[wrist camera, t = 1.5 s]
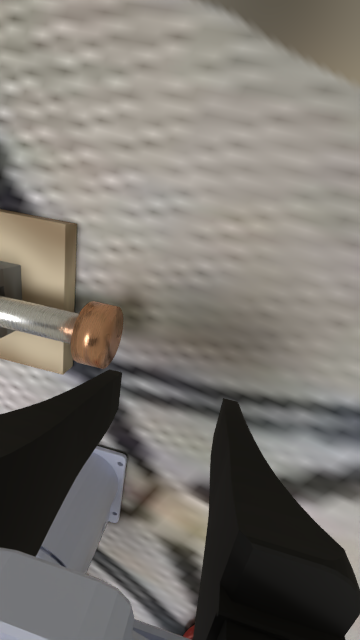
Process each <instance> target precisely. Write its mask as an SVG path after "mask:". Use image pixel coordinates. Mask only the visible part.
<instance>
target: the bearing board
mask: <svg viewBox="0 0 360 640" xmlns="http://www.w3.org/2000/svg"><path fill="white" fill-rule="evenodd" d="M76 240H77V224H75V223H70V222H64V221H59V220H54V219H49V218H43V217H38V216H33V215H28V214H23V213H17V212H12V211H7V210H2V209H0V296H4V297H9V298H13V299H17V300H21V301H26V302H30V303H34V304H39V305H43V306H47V307H52V308H56V309H60V310H65V311H69V312H73V313H74V306H75V273H76ZM0 358H1V359H5V360H9V361H13V362H17V363H20V364H24V365H28V366H32V367H36V368H40V369H43V370H47V371H51V372H55V373H59V374H64V373H65V372H66V371H68V370H69V369H70V368H71V367H72V366H73V357H72V354H71V344H69V343H65V342H61V341H56V340H52V339H48V338H44V337H40V336H36V335H32V334H28V333H24V332H20V331H16V330H12V329H8V328H4V327H0Z"/></svg>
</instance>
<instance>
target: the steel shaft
mask: <svg viewBox="0 0 360 640" xmlns="http://www.w3.org/2000/svg"><path fill="white" fill-rule="evenodd" d="M0 327H4V328H8V329H12V330H16V331H20V332H24V333H28V334H32V335H36V336H40V337H44V338H48V339H52V340H56V341H61V342H65V343H69V344H71V354H72V357H73V359H74V360H75V361H76V362H78V363H82V364H86V365H90V366H94V367H98V368H102V369H103V368H106V367H107V366H108V365H109V364H110V363H111V361H112V360H113V358H114V356H115V354H116V352H117V349H118V346H119V343H120V340H121V336H122V330H123V313H122V310H121V308H120V307H117V306H113V305H108V304H104V303H99V302H95V301H92V302H89V303H88V304H86V305H85V306H84V308H83V309H82V310H81V312H80V313H79V314H78V313H73V312H69V311H65V310H60V309H56V308H52V307H47V306H43V305H39V304H34V303H30V302H26V301H21V300H17V299H13V298H9V297H4V296H0Z"/></svg>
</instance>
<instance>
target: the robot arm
mask: <svg viewBox="0 0 360 640" xmlns="http://www.w3.org/2000/svg"><path fill="white" fill-rule="evenodd" d="M121 377H122V373H121V372H117V371H113V370H108V371H106V372H104V373H102V374H100V375H98V376H96V377H94V378H93V379H91V380H89V381H87V382H85V383H83V384H81V385H79V386H77V387H75V388H73V389H71V390H69V391H66V392H64V393H62V394H60V395H58V396H55V397H53V398H51V399H48V400H46V401H43V402H40V403H37V404H34V405H32V406H29V407H25V408H22V409H18V410H15V411H11V412H8V413H4V414H0V640H191V639H188V638H185V637H183V636H180V635H177V634H174V633H171V632H169V631H166V630H163V629H160V628H158V627H155V626H152V625H149V624H147V623H144V622H141V621H138V620H135V619H134V615H133V611H132V606H131V604H130V601H129V600H128V599H127V598H126V597H125V596H124V595H123V594H122V593H121V592H120V591H119V590H118V589H117V588H116V587H114V586H112V585H110V584H108V583H106V582H104V581H102V580H100V579H98V578H95V577H92V576H89V575H86V572H87V570H88V568H89V565H90V563H91V561H92V558H93V556H94V553H95V551H96V549H97V546H98V544H99V542H100V539H101V537H102V535H103V532H104V530H105V528H106V525H107V523H108V521H109V522H112V523H117V522H118V520H119V517H120V510H121V502H122V494H123V486H124V478H125V471H126V463H127V457H126V455H125V454H123V453H120V452H116V451H113V450H109V449H106V448H102V447H99V446H97V445H98V444H99V442H100V441H101V439H102V437H103V436H104V434H105V433H106V431H107V430H108V428H109V426H110V424H111V423H112V421H113V419H114V416H115V414H116V412H117V410H118V406H119V397H120V387H121ZM359 614H360V589H359V586H358V583H357V580H356V577H355V574H354V572H353V569H352V567H351V564H350V562H349V560H348V558H347V555H346V553H345V550H344V549H343V548H342V547H341V546H340V545H339V544H338V543H337V542H336V541H335V540H334V539H333V538H332V537H330V536H329V535H328V534H327V533H326V532H325V531H324V530H323V529H322V528H321V527H320V526H319V525H318V524H317V523H316V522H315V521H314V520H313V519H312V518H311V517H310V516H309V515H308V514H307V512H306V511H305V510H304V509H303V508H302V507H301V506H300V505H299V504H298V503H297V501H296V500H295V499H294V498H293V497H292V495H291V494H290V493H289V492H288V491H287V489H286V488H285V487H284V486H283V484H282V483H281V482H280V480H279V479H278V478H277V476H276V475H275V474H274V472H273V471H272V469H271V468H270V466H269V465H268V463H267V461H266V460H265V458H264V457H263V455H262V453H261V451H260V450H259V448H258V446H257V444H256V442H255V440H254V438H253V436H252V434H251V432H250V430H249V428H248V426H247V424H246V421H245V419H244V417H243V414H242V412H241V409H240V406H239V404H238V402H236V401H232V400H228V399H224V398H223V402H222V406H221V409H220V413H219V417H218V421H217V424H216V428H215V432H214V437H213V444H212V451H211V464H210V497H209V517H208V527H207V535H206V543H205V551H204V559H203V567H202V575H201V583H200V590H199V598H198V605H197V612H196V620H195V627H194V634H193V640H345V634H346V633H347V632H348V630H349V629H350V627H351V626H352V625H353V623H354V622H355V620H356V619H357V618H358V616H359Z"/></svg>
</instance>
